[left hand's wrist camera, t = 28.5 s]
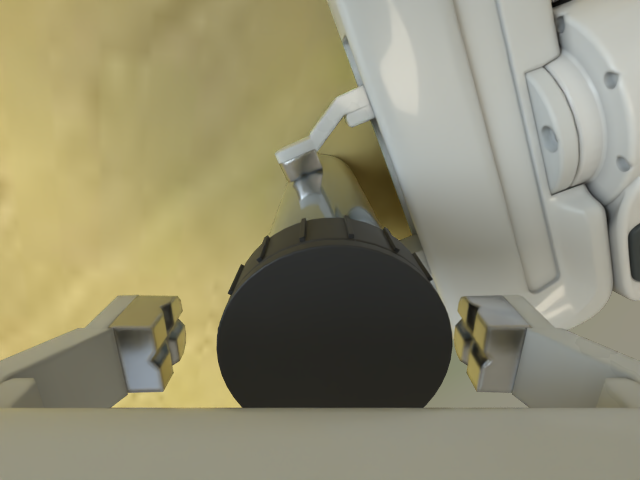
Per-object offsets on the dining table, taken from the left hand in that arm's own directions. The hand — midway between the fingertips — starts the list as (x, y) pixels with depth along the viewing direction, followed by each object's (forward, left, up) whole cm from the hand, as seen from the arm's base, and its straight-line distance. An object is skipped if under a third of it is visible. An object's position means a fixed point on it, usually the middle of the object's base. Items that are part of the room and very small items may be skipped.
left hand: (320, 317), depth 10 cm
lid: (0, +1, +2) cm, 2 cm away
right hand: (-1, 0, -9) cm, 9 cm away
